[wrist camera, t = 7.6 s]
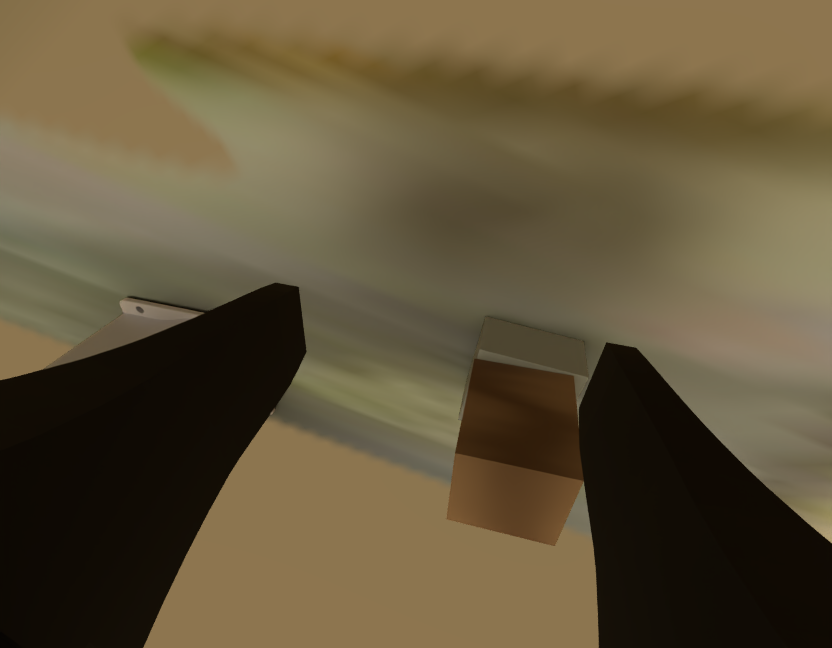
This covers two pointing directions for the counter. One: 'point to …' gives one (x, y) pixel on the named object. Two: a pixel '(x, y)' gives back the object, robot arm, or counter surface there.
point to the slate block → (530, 352)
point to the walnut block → (517, 452)
